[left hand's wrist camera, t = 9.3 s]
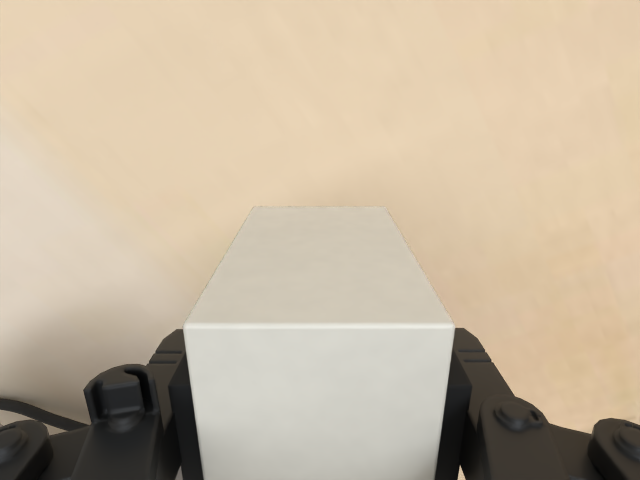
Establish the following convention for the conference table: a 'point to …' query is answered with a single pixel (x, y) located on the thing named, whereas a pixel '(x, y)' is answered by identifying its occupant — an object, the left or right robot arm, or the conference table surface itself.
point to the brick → (319, 351)
